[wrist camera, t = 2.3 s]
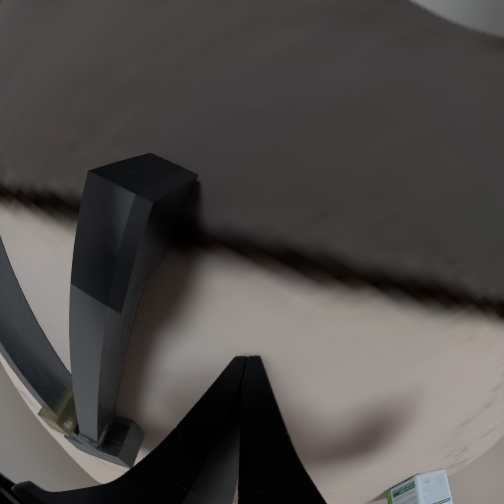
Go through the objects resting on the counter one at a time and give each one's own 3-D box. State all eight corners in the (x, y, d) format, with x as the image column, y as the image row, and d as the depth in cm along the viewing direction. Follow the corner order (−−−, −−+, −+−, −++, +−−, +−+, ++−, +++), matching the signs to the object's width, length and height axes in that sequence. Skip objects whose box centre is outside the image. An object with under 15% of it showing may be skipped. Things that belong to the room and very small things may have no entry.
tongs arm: (117, 419, 15) (102, 454, 12) (95, 407, 14) (77, 441, 12) (198, 174, 7) (148, 205, 5) (145, 150, 7) (75, 169, 4)
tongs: (145, 434, 15) (130, 473, 12) (92, 420, 16) (76, 453, 13) (7, 144, 7) (-55, 164, 4) (-31, 176, 8) (-76, 197, 5)
